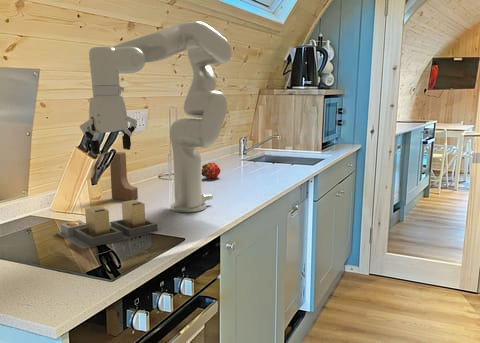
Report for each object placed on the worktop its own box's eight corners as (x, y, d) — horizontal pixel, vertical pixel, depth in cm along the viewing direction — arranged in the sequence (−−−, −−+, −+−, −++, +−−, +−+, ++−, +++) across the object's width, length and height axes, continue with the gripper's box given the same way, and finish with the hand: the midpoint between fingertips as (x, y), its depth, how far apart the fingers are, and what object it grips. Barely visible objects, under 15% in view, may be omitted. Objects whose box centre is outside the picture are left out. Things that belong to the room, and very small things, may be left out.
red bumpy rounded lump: (203, 184, 210) (214, 183, 222) (217, 174, 208) (228, 174, 219) (194, 169, 212) (205, 168, 223) (208, 159, 209) (219, 159, 221)
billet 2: (135, 225, 136) (134, 199, 135) (145, 230, 132) (144, 202, 130) (123, 228, 134) (121, 201, 132) (133, 233, 129) (131, 205, 128)
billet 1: (100, 233, 129) (98, 205, 127) (110, 238, 125) (108, 209, 123) (86, 236, 126) (84, 207, 125) (96, 241, 122) (94, 212, 120)
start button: (77, 229, 132) (76, 221, 132) (81, 231, 130) (80, 223, 130) (67, 231, 130) (67, 223, 130) (71, 233, 128) (70, 225, 128)
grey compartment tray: (132, 221, 146) (132, 209, 145) (163, 234, 132) (162, 221, 132) (56, 238, 130) (55, 224, 129) (82, 254, 117) (81, 239, 116)
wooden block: (138, 198, 177) (136, 152, 174) (131, 201, 173) (129, 154, 170) (118, 197, 180) (116, 151, 177) (111, 199, 176) (109, 153, 172)
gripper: (127, 90, 138) (131, 146, 142) (71, 93, 127) (77, 154, 130) (140, 90, 133) (144, 148, 136) (83, 93, 121) (89, 157, 125)
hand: (112, 151), depth 133 cm, fingers open, 9 cm apart
